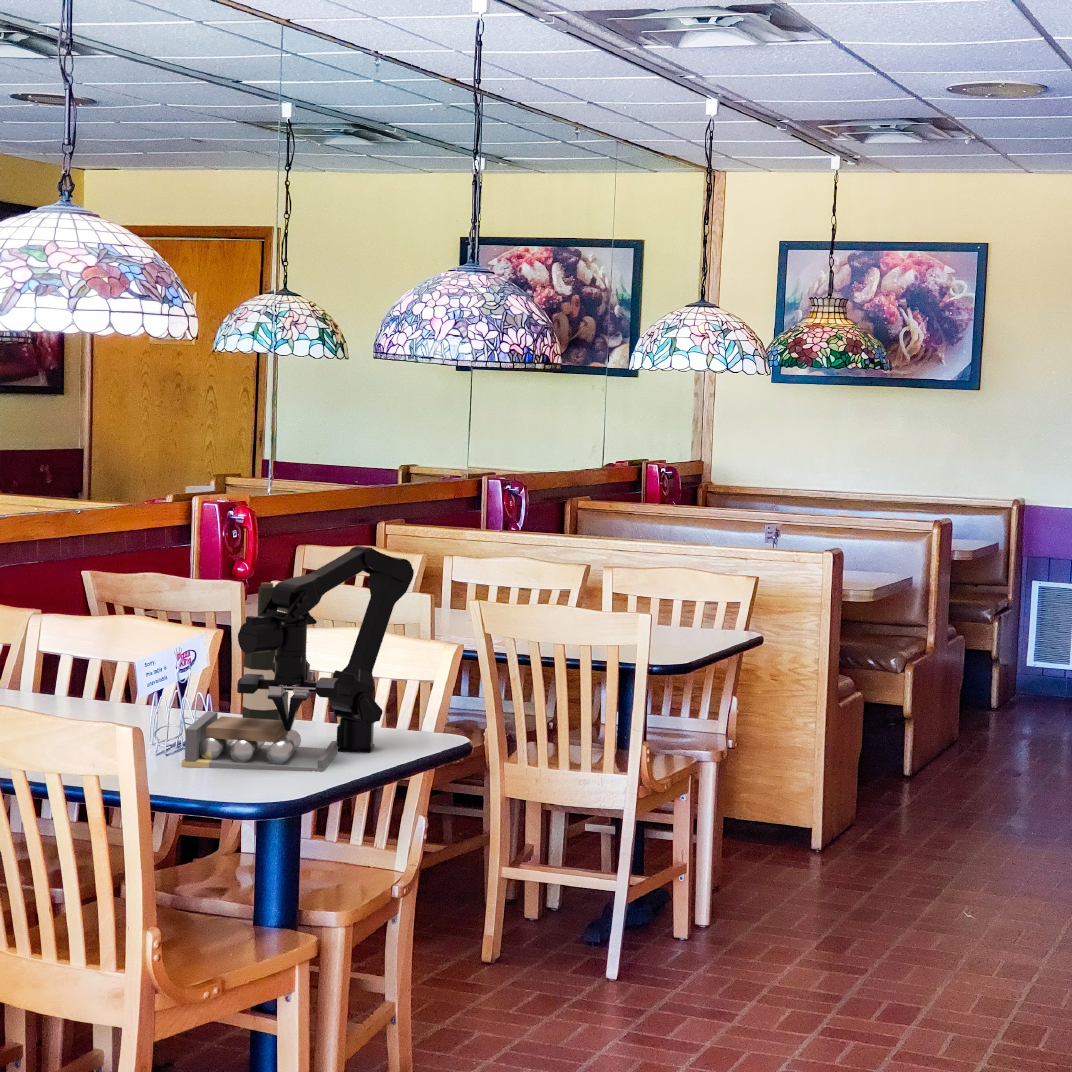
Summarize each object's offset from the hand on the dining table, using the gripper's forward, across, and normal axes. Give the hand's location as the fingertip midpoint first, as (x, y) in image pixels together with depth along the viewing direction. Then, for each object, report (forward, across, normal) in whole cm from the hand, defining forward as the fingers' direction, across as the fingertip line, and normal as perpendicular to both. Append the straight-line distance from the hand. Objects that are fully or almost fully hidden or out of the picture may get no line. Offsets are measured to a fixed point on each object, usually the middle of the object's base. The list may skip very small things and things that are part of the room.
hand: (288, 730), depth 278 cm
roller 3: (+2, -1, +1) cm, 3 cm away
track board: (+6, +5, 0) cm, 8 cm away
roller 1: (+3, +11, 0) cm, 12 cm away
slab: (+1, +8, +1) cm, 8 cm away
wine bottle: (+6, +11, -29) cm, 32 cm away
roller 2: (+2, +6, +1) cm, 6 cm away
